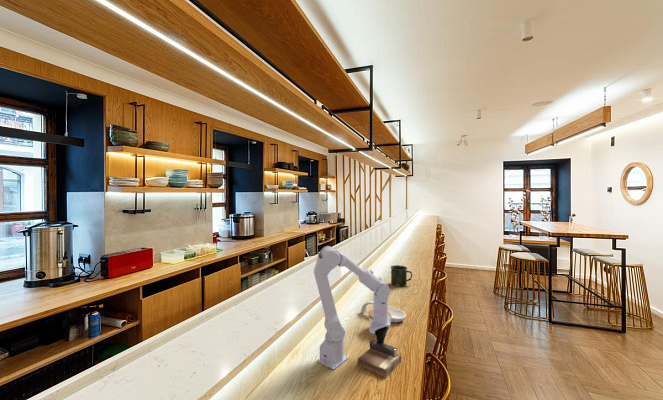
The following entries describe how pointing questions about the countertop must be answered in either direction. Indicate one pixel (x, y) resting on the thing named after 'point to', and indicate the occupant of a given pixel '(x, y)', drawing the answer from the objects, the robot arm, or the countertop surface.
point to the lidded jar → (372, 317)
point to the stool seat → (379, 362)
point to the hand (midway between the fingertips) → (380, 343)
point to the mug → (399, 275)
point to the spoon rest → (395, 313)
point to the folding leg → (383, 348)
